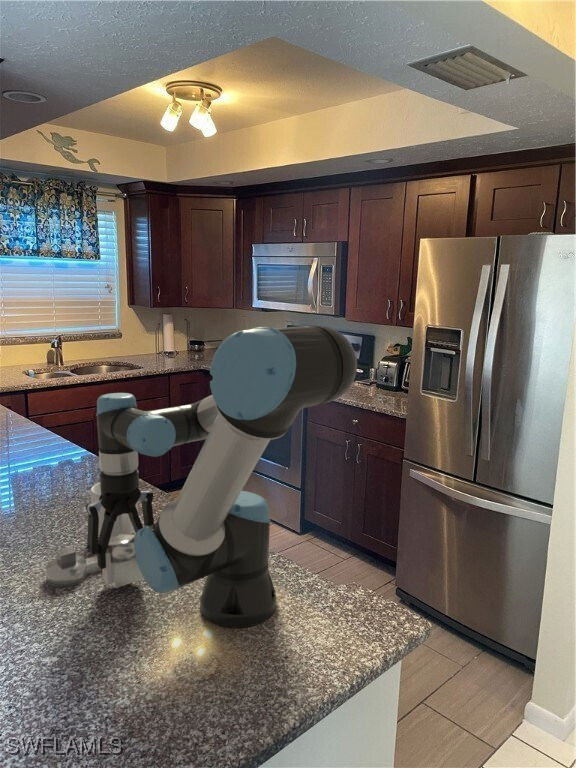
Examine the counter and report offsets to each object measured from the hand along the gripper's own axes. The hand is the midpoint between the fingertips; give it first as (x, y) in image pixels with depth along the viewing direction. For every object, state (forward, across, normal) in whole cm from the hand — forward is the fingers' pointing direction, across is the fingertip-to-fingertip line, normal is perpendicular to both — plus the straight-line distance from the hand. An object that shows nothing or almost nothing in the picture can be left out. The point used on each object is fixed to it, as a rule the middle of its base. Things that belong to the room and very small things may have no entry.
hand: (123, 575), depth 117 cm
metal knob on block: (0, 0, 0) cm, 0 cm away
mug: (+2, -8, -22) cm, 23 cm away
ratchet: (+2, +1, -11) cm, 11 cm away
